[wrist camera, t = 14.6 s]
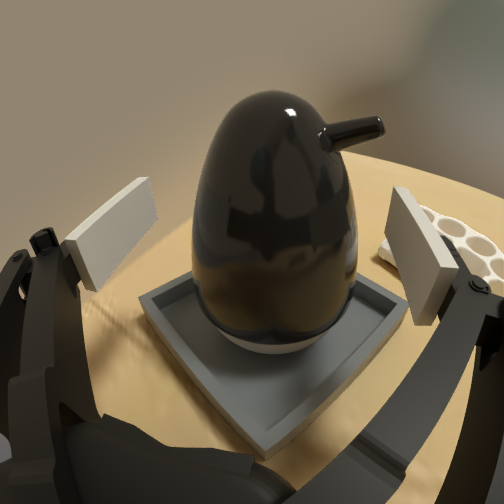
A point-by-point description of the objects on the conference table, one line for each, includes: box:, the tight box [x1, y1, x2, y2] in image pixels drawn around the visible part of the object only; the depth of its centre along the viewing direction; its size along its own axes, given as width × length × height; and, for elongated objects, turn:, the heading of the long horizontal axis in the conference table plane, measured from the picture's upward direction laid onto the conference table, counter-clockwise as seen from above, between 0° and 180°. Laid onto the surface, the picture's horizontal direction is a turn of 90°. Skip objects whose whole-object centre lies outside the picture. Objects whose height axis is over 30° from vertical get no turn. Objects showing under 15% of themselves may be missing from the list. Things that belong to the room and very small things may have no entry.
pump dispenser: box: [191, 90, 386, 354], centre depth 16 cm, size 10×10×15 cm
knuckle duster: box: [378, 205, 504, 297], centre depth 25 cm, size 3×18×15 cm
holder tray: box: [138, 271, 409, 461], centre depth 20 cm, size 15×15×2 cm
